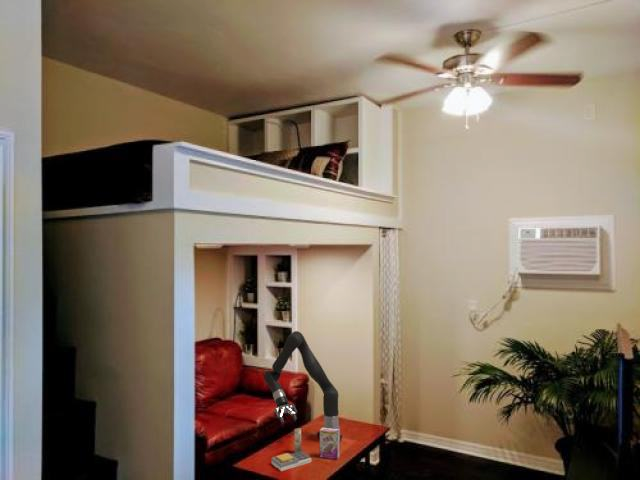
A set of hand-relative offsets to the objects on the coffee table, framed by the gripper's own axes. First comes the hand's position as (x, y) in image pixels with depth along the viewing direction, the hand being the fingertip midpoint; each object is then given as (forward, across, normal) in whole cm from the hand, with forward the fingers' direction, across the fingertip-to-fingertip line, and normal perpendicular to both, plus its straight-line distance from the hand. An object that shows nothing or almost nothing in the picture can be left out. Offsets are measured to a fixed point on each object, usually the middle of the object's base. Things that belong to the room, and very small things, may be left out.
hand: (289, 421), depth 304 cm
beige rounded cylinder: (+18, 0, +4) cm, 18 cm away
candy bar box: (+29, +12, -7) cm, 33 cm away
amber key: (+22, -15, -5) cm, 27 cm away
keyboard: (+25, -10, -3) cm, 27 cm away
